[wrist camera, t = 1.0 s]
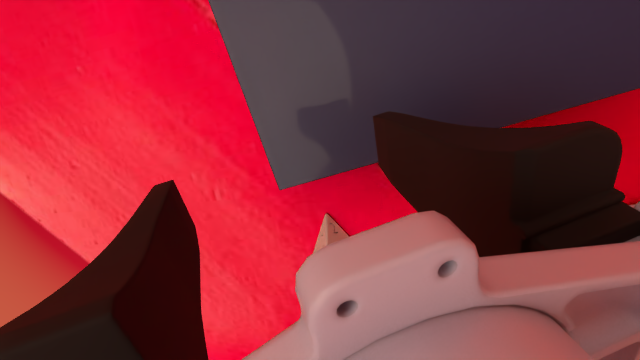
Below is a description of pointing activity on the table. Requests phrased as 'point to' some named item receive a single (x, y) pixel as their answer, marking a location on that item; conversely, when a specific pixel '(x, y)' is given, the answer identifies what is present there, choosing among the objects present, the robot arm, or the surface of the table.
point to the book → (416, 67)
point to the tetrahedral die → (329, 233)
